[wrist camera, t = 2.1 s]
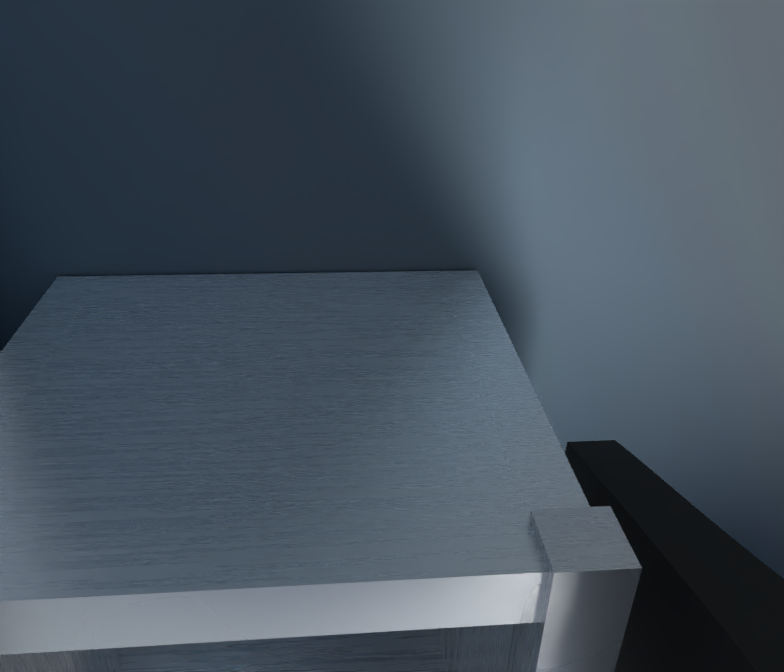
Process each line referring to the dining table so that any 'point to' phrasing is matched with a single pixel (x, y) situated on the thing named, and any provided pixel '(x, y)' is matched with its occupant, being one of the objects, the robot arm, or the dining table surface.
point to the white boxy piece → (292, 484)
